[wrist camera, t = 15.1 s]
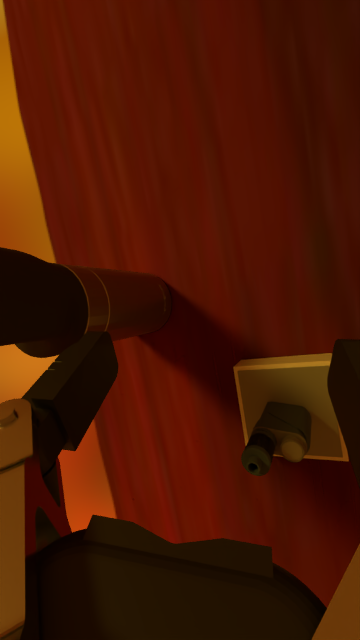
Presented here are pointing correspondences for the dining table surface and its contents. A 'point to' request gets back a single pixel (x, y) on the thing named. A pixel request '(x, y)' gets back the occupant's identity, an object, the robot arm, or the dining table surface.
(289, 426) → the vaping device
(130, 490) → the dining table surface
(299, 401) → the riser
